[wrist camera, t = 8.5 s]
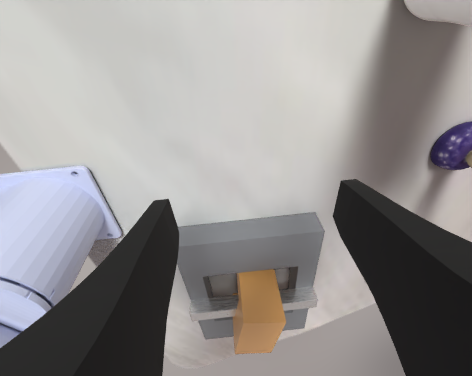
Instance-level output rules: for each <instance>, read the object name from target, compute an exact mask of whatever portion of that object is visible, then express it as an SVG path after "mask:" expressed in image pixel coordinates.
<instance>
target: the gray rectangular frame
mask: <svg viewBox="0 0 472 376" xmlns="http://www.w3.org/2000/svg"><path fill="white" fill-rule="evenodd" d="M178 230H179V251H178V259H177V264H178V267H179V270H180V272H181V275H182V278H183V281H184V283H185V286H186V289H187V291H188V294H189V297H190V299H191V300H195V299H204V298H213V293H212V289H211V285H210V282H209V278H208V276H214V275H224V274H233V273H242V272H251V271H260V270H269V269H278V268H287V267H290V275H289V285H288V289H293V288H302V287H311V286H313V284H314V279H315V274H316V270H317V265H318V260H319V255H320V251H321V246H322V241H323V236H324V232H325V231H324V229H323V227H322V225H321V223H320V221H319V219H318V217H317V215H316V213H315V212H314V213H305V214H295V215H286V216H277V217H268V218H258V219H249V220H240V221H231V222H221V223H212V224H203V225H193V226H184V227H178ZM307 312H308V308H304V309H295V310H287V311H284V314H285V319H286V324H285V326H284V328H283V330H282V331H284V330H293V329H302V328H304V327H305V322H306V317H307ZM198 321H199V324H200V326H201V329H202V332H203V334H204V337H205V339H214V338H223V337H231V336H234V332H233V317H224V318H216V319H207V320H198Z"/></svg>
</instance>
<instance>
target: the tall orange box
mask: <svg viewBox="0 0 472 376" xmlns="http://www.w3.org/2000/svg"><path fill="white" fill-rule="evenodd" d="M237 284H238V293H233V295H238V296H239V301H238V306H237V310H236V314H235V316H233V332H234V348H235V354H244V353H269V352H272V350H273V348H274V346H275V344H276V342H277V340H278V338H279V336H280V334H281V332H282V330H283V328H284V326H285V324H286V319H285V314H284V310H283V306H282V301H281V297H280V293H279V288H278V284H277V280H276V275H275V271H274V269H269V270H260V271H251V272H242V273H237Z"/></svg>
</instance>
